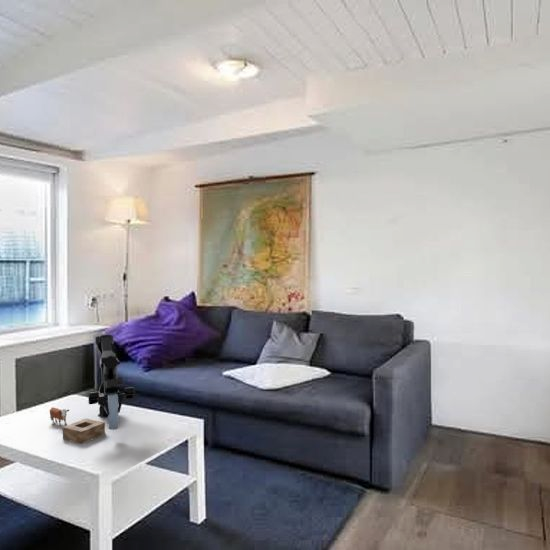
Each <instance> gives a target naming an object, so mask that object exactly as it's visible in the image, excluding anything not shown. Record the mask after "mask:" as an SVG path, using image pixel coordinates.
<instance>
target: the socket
mask: <svg viewBox="0 0 550 550" xmlns="http://www.w3.org/2000/svg"><path fill="white" fill-rule="evenodd" d="M105 434H106V424H105V422H104V421H99V420H95V419H92V418H91V419H90V418H84V419H81V420H78V421H75V422H73V423H70V424H67V425H64V426H62V439H63V440H65V441H70V442H74V443H78V444H80V445H81V444H82V445H83V444H84V443H86V442H89V441H92V440H93V439H97V438H98V437H101V436H104V435H105Z"/></svg>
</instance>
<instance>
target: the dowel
mask: <svg viewBox="0 0 550 550" xmlns="http://www.w3.org/2000/svg"><path fill="white" fill-rule="evenodd" d="M118 403H119V397H118V394H110V395H108V411H109V415H108V417H107V418H108V429H109V430H113V431H114V430H117V429H119V428H120V423H119V422H120V421H119V413H118Z"/></svg>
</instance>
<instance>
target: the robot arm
mask: <svg viewBox="0 0 550 550" xmlns="http://www.w3.org/2000/svg"><path fill="white" fill-rule="evenodd" d="M94 342H95V343H94V345H95V346H96V350H97V351H98V353H99V354H100V359H99V368H100V369H101V371H100V373H101V384H100V386H99V388H98V391H92V392H89V393H88V397H87V398H88V405H95V404H97V405H98V406H99V408H98V409H99V410H98V411H99V414H97V416H98V417H102V418H108V415H109V411H108V395H110V394H118V414H120V413H121V410H122V409H121V408H122V406H123V403H124V402H126V400H133V399H135V395H136V388H135V387H133V386H130V387H129V386H128V387H124V390H123V391H120V386H122V385H123V384H124V380H123V377H122V376H119V377H118V368H119V365H120V360H119V359H118V357H117V355H116V353H115V352H114V351H113V344H114V343H115V342H114V335H111V334H110V333H105V334H104V333H103V334H100V335H97V336H95V338H94Z"/></svg>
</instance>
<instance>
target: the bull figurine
mask: <svg viewBox="0 0 550 550" xmlns="http://www.w3.org/2000/svg"><path fill="white" fill-rule="evenodd" d="M69 411H70V409H66V408H58V407H54V406H53V407H50V409H49V415H50V416H49V418H50V420H51V421H52V425H55V424H56V423H58V426H59V427H60V426H62V424H61V422H62V421H64V426H67V425H68V422H67V420H66V419H67V415H68V414H67V412H69ZM51 421H50V422H51Z"/></svg>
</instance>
